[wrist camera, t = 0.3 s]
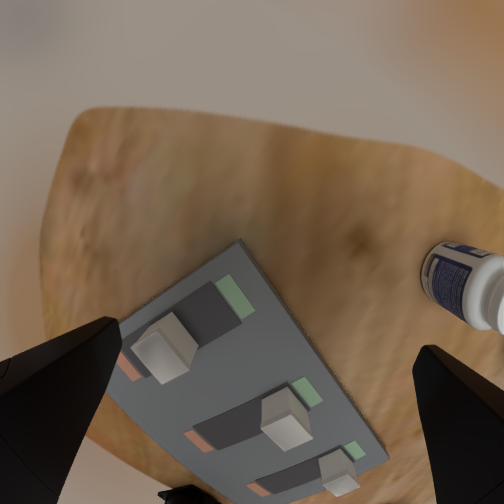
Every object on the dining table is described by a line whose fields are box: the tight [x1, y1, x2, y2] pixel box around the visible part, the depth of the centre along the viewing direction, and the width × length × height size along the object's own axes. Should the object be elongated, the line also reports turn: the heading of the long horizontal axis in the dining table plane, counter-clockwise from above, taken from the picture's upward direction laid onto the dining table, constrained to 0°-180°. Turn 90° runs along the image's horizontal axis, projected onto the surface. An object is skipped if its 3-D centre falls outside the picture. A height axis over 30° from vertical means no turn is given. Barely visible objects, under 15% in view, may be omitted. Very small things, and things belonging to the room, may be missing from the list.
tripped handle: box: [131, 312, 199, 385], centre depth 20 cm, size 2×3×4 cm
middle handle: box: [261, 387, 313, 452], centre depth 20 cm, size 2×3×4 cm
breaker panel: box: [106, 239, 390, 504], centre depth 24 cm, size 18×28×2 cm, turn 34°
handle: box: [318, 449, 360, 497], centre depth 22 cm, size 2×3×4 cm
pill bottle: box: [421, 242, 504, 335], centre depth 17 cm, size 5×5×10 cm
